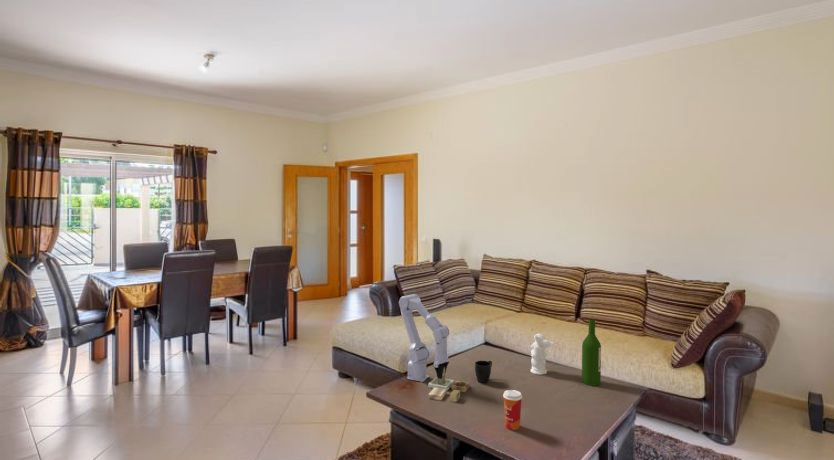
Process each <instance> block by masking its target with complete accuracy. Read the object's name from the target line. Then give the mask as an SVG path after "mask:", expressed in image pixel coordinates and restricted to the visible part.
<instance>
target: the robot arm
mask: <svg viewBox="0 0 834 460" xmlns="http://www.w3.org/2000/svg"><path fill="white" fill-rule="evenodd" d="M398 306H399V309H400V313H401V317H402V320H403V324H404V326H405V330H406V334H407V336H408V339H409V343H410V346H409V348H408V353H409V356H408V357H409V360H408V363H407V378H406V379H407V380H412V381H415V382H421V383H423V382H425V381H426V380H427V379H428V378H429V377H430V375H428V374H427V361H428V359H429V357H430V351H429V349H428V347H427V346H426V344H425V343H424V342H422V341H421V337H420V335H419V331H418V329H417V325H416V321H415V319H414V317H413V311H414V310H416V312H418V314H420V316H422V317H423V318H424V319H425V320H424V321H425V324H426V326H427V327H428V328H429V329H430V330H431V331H432V335H433V337H434V342H435V359H434V362H433V366H432V367H433V368H434V370H435V373H436V377H437V378H439V379H442V375H443V369H444V367H445V374H446V372H447V368H448V365H449V364H450V359H449V354H448V336H449V334H450V328H449V327H448V326H447V325H445V324H442V323H441V322H440V320H439V319H438V318H437V317H436V315H434V314H430V313H429V311H428V310H427V308H426V306H424V304H423V303H422V301H421V298H420V297H419V295H417V293H413V294H408V295H403V296H401V297H400V298H399V301H398Z"/></svg>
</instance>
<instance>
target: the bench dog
mask: <svg viewBox="0 0 834 460" xmlns="http://www.w3.org/2000/svg"><path fill="white" fill-rule="evenodd" d="M449 395H450V400H449V401H450V402H454V403H457V402H458V401H459V400H460V399H461V391H459V390H452V391H451V392H450V394H449Z"/></svg>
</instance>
